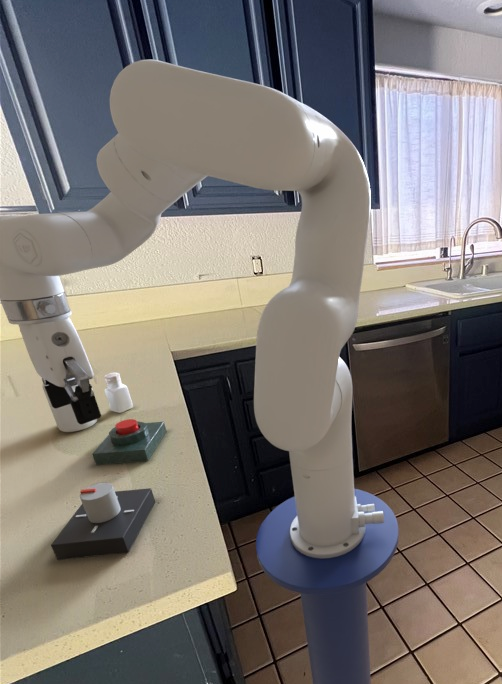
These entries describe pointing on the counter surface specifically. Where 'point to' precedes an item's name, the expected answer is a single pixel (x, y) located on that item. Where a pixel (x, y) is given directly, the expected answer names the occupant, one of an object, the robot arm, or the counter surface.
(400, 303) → the counter surface
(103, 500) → the hob knob
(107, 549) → the panel
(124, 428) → the button
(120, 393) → the small white square bottle
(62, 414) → the pill bottle
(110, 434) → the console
